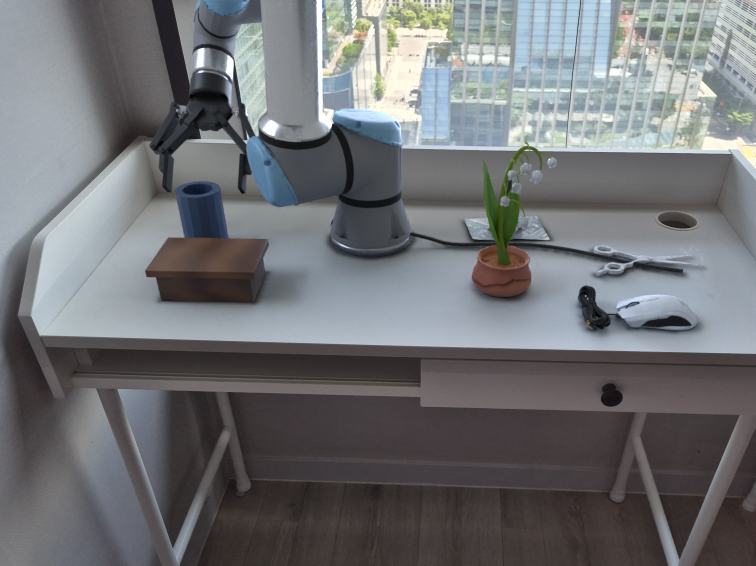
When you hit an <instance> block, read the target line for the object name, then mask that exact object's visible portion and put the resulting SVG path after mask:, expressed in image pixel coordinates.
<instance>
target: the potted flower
mask: <svg viewBox="0 0 756 566" xmlns="http://www.w3.org/2000/svg"><path fill="white" fill-rule="evenodd" d="M527 150H528V154H527V153H526V152H525V151H527ZM531 151H532V152H534V153H535V154H536V155H537V157H538V160H539V170H533V171H532V164H531V163H530V158H529V157H530V153H531ZM542 154H545V155H547V156H548V157H549V159H548V160H547V162H546V163H547V165H548V169H549V170H550V169H552V168H556V167H557V166H558V165H559V164H558V163H557V159H556V158H555V157H552V156H551V155H550V154H549V153H548V152H544V151H540V150H538V148H537V147H535V146H531V145H530V144H529V142H528V141H526V140H525V141H524V146H521V147H520V148H519V149H518V150H517V151H516V152H515V153H514V154H513V156H512V157H511V159H510V161H509V163H508V164H507V168H506V170H505V173H504V177H503V181H502V184H501V188H500V193H499V196H498V197H499V198H498V201H497V198H496V194H495V191H494V187H493V183H492V180H491V176H490V173H489V168H488V166H487V163H486V161H485V160H484V159H483V160H482V171H483V205H484V209H485V213H486V217H487V219H488V223H489V226H490V229H491V232H492V235H493V238H494V240H493V241H494V242H495V243H496V245H493V246H484V247H483V248H481V249H480V250H479V251H478V252H477V253H476V260H477V261H476V263H475V265H474V266H473V269H472V274H471V281H472V282H473V284H474V285H475V287H476V288H477V289H478V290H479V291H480V292H481V293H484V294H486V295H489V296H492V297H499V298H508V297H514V296H519V295H520V294H522V293H524V292H525V291H526V290H527V289H528V288H529V287H530V286H531V284H532V271H531V268H530V266H529V265H530V262H531V256H530V255H529V253H528V252H526V251H525V250H524V249H521V248H519V247H518V246H508V244H509V242H511V240H512V239H511V238H512V236H513V234H514V233H515V231H516V228H517V225H518V227H519V228H521V227H522V228H523V229H525V227H528V226H527V224H528V219H527V218H526V217H525V216H526V214H525V213H526V212H525V210H524V207H523V206H522V204H521V202H520V195H522V190H523V185H522V184H521V183H520V178H519V177H523V176H524V177H528V176H529V177H528V178H529V182H530V183H534V185H538V184H539V185H540V184H541V181H542V180H543V176H544V175H543V173H542V172H541V171H542V168H543V157H542ZM521 155H524V156H525V157H526V159H527V162H524V160H523V158H522V157H521ZM517 159H519V161H520V162H521V165H520V164H519V163H518V161H517ZM515 164H516V166H517V168H518V172H519V173H517V171H516V170H514V166H515ZM531 171H532V172H531ZM530 172H531V174H530ZM530 175H531V176H530ZM511 179H512V181H516V180H517V182H514V183H512V188H511V190H510V191H509V193H508V195H507V186H508V180H511ZM520 209H521V210H522V214H523V216H524V217H520V218H519V220H518V217H519V216H520ZM517 223H518V224H517ZM510 239H511V240H510Z"/></svg>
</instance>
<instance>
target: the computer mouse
mask: <svg viewBox="0 0 756 566" xmlns="http://www.w3.org/2000/svg"><path fill="white" fill-rule="evenodd" d="M596 298H597V292H596V289H595V288H594V287H593V286H591V285H587V284H586V285H583V286H580V289H579V290H578V295H577V301H578V302H579V303H580V305H581V314H582V317H583V321H584V322H585V323H586V326H587V327H588V328H589V329H590V330H594V329H597V330H600V331H603V330H605V328H608V327H609V326H610V325H611V323H612V320H611V316H614V317H615V318H619V319H624V321H625V322H626V323H627V324H628V325H629V326H630V327H631V328H650V329H651V328H652V329H659V330H665V331H688V330H691V329H692V328H694V327H696V325H697V324H698V322H699V319H698V317H697V315H696V313H695V312H694V311H693V309H692V308H691V307H690V306H689V305H688V304H687V303H686V302H685V301H684V300H682V299H681V298H678V297H676V296H674V295H669V294H647V295H646V294H645V295H639V296H635V297H630V298H627V299H623V300H621V301H617V304H616V308H615V309H616V310H617V311H616V312H615V313H614V312H613V313H611V312H610V313H607V312H606V311H605V310H604V309H602V308H601V307H599V306H598V304H597V302H596V301H597V299H596Z"/></svg>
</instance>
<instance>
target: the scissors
mask: <svg viewBox="0 0 756 566" xmlns="http://www.w3.org/2000/svg"><path fill="white" fill-rule="evenodd" d="M603 250H604V251H603ZM593 253H597V254H602V255H607V256H611V257H613V256H616V257H617V256H619V257H624V258H627V259H629V260H631V261H632V262H630V263H625V264H624V263H620V262H616V261H612V262H608V263H606V264H605V265H604V267H603V269H601V270H597V271H596V274H595V275H596V277H597V276H598V277H600V276H603V275H605V274H609V275H621V274H623V273H624V271H625V269H627V268H632V267H633V266H634V265H633V263H634V262H639V263H644V264H649V263H659V264H671V265H672V264H674V265H686V266H687V265H688V266H700V264H698V263H692V262H684V261H676V260H670V259H677V258H684V257H689V256H692V254H679V255H678V254H676V255H660V256H658V255H657V256H648V255H640V254H631V253H628V252H626V251H620V250H619V251H618V250H617V249H615V248H613V247H611V246H608V245H596V246H594V247H593ZM611 268H616V269H611Z"/></svg>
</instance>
